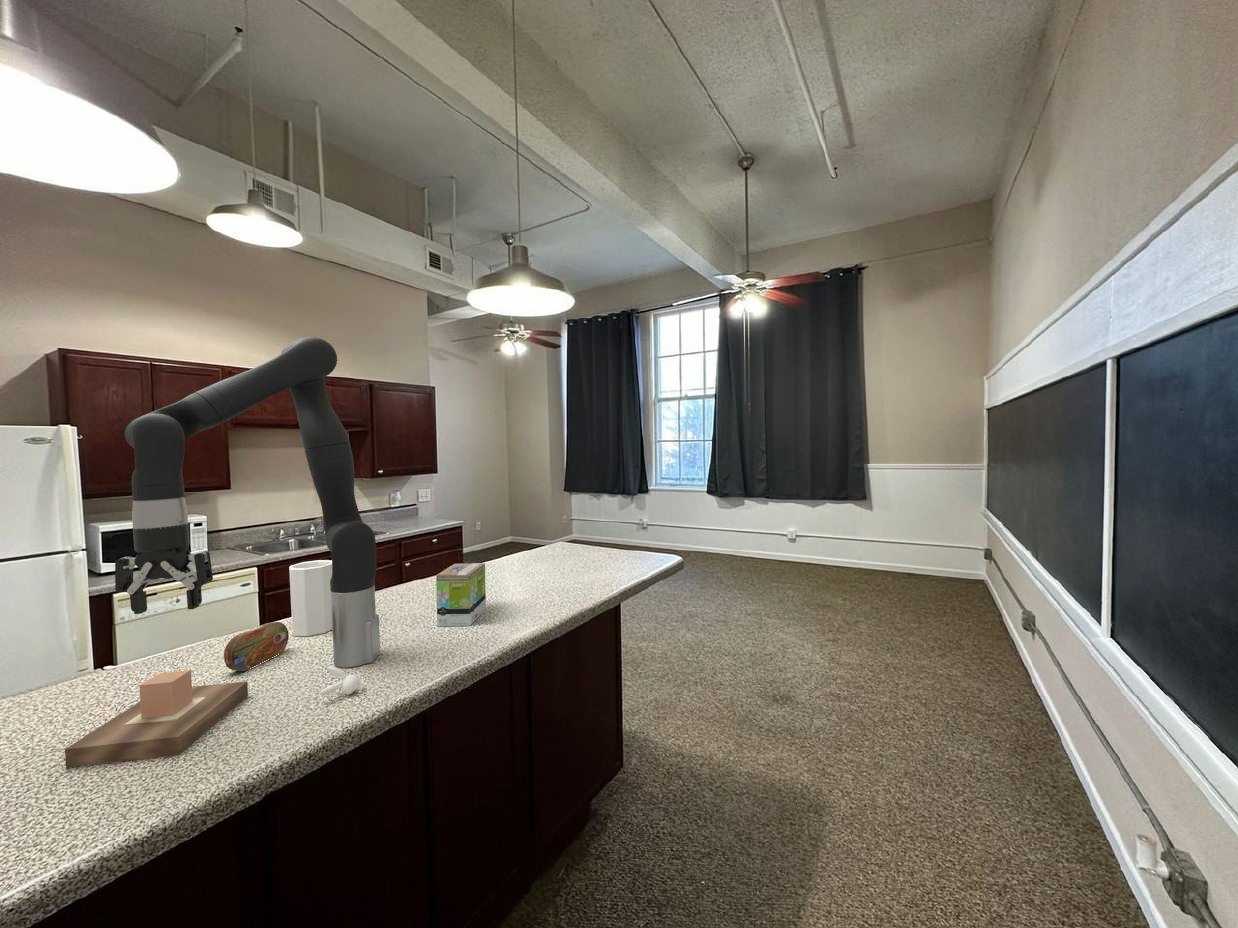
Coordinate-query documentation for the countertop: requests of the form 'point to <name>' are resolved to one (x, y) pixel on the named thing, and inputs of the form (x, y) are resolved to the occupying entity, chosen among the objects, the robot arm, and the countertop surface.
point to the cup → (311, 597)
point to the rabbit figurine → (343, 682)
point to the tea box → (460, 594)
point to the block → (165, 694)
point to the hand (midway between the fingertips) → (167, 610)
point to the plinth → (156, 728)
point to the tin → (256, 646)
